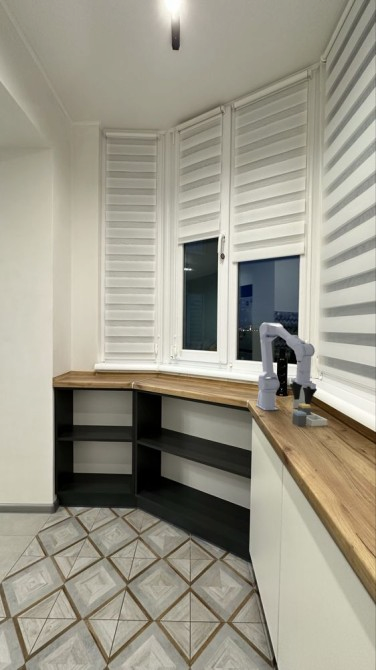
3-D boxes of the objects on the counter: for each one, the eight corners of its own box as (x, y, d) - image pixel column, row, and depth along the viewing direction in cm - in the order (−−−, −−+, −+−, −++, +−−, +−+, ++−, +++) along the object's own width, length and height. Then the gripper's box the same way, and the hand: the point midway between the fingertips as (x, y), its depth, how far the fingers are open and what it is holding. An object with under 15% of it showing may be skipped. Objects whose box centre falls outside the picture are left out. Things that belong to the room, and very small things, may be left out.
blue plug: (292, 423, 132) (293, 410, 132) (300, 422, 133) (300, 410, 133) (297, 426, 128) (298, 413, 128) (306, 425, 129) (306, 413, 129)
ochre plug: (297, 415, 141) (298, 403, 141) (304, 414, 142) (305, 403, 142) (302, 417, 137) (303, 406, 137) (310, 417, 138) (311, 405, 138)
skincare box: (292, 408, 157) (294, 379, 156) (293, 405, 162) (295, 378, 161) (310, 410, 153) (311, 381, 152) (310, 407, 159) (312, 380, 158)
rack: (292, 416, 142) (292, 411, 142) (306, 415, 144) (306, 410, 144) (311, 426, 129) (311, 420, 129) (327, 425, 131) (327, 419, 131)
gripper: (322, 373, 126) (321, 405, 127) (300, 368, 140) (299, 397, 141) (308, 373, 124) (306, 406, 125) (287, 368, 138) (286, 397, 139)
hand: (302, 401), depth 133 cm, fingers open, 7 cm apart
